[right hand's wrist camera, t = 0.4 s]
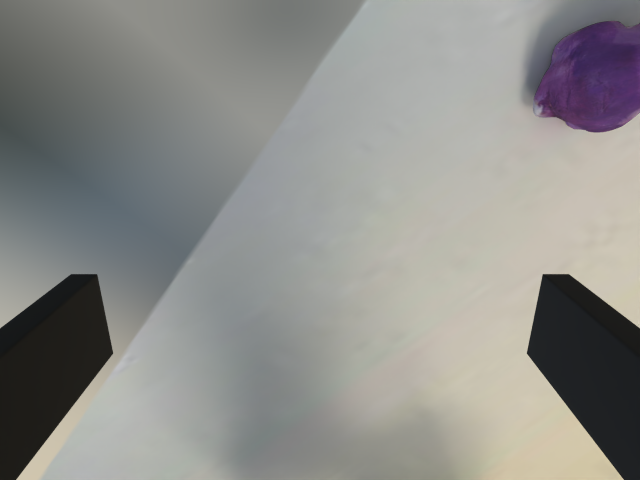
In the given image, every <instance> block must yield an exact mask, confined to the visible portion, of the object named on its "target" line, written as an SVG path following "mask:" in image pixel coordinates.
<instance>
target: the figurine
mask: <svg viewBox="0 0 640 480" xmlns="http://www.w3.org/2000/svg"><path fill="white" fill-rule="evenodd" d="M533 111H534V114H535V115H536V116H537V117H557V118H560V119H562V120H564V121H565V122H566V124H567V125H568V126H569V127H571V128H573V129H582V130H586V131H589V132H606V131H610V130H613V129H616V128H619V127H621V126H623V125H625V124H626V123H627V122H629V121H630V120H631V119H633V118H634V117H635V116H636V115H638V114H639V113H640V24H637V25H635V26H629V27H625V26H624V25H623V24H621V23H620V22H618V21H606V22H600V23H596V24H593V25H590V26H587V27H585V28H583V29H581V30H579V31H577V32H574V33H572V34H570V35H568V36H566V37H564V38H563V39H562V40H561V41H560V42H559V43H558V44H557V45H556V46H555V49H554V51H553V54H552V62H551V65H550V67H549V69H548V70H547V72H546V73H545V75H544V76H543V78H542V81H541V83H540V85H539V88H538V90H537V92H536V94H535V97H534V101H533Z"/></svg>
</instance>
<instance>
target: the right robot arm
mask: <svg viewBox="0 0 640 480" xmlns="http://www.w3.org/2000/svg"><path fill="white" fill-rule="evenodd" d="M112 354H113V350H112V345H111V340H110V336H109V331H108V326H107V321H106V316H105V311H104V306H103V301H102V296H101V291H100V286H99V281H98V276H97V274H71V275H70V276H68V277H67V278H66V279H64V280H63V281H62V282H60V283H59V284H58V285H57V286H55V287H54V288H53V289H51V290H50V291H49V292H47V293H46V294H45V295H43V296H42V297H41V298H39V299H38V300H37V301H36V302H34V303H33V304H32V305H30V306H29V307H28V308H26V309H25V310H24V311H22V312H21V313H20V314H19V315H17V316H16V317H15V318H13V319H12V320H11V321H9V322H8V323H7V324H5V325H4V326H3V327H1V328H0V480H16V479H17V478H18V476H19V475H20V474H21V473H22V471H23V470H24V469H25V467H26V466H27V465H28V463H29V462H30V461H31V460H32V458H33V457H34V456H35V454H36V453H37V452H38V450H39V449H40V448H41V446H42V445H43V444H44V443H45V441H46V440H47V439H48V437H49V436H50V435H51V434H52V432H53V431H54V430H55V428H56V427H57V426H58V424H59V423H60V422H61V421H62V419H63V418H64V417H65V415H66V414H67V413H68V411H69V410H70V409H71V407H72V406H73V405H74V404H75V402H76V401H77V400H78V398H79V397H80V396H81V394H82V393H83V392H84V391H85V389H86V388H87V387H88V385H89V384H90V383H91V381H92V380H93V379H94V378H95V376H96V375H97V374H98V372H99V371H100V370H101V368H102V367H103V366H104V365H105V363H106V362H107V361H108V359H109V358H110V357H111V355H112ZM527 354H528V355H529V357H530V358H531V359H532V361H533V362H534V363H535V365H536V366H537V367H538V368H539V370H540V371H541V372H542V374H543V375H544V376H545V378H546V379H547V380H548V381H549V383H550V384H551V385H552V387H553V388H554V389H555V391H556V392H557V393H558V394H559V396H560V397H561V398H562V400H563V401H564V402H565V404H566V405H567V406H568V408H569V409H570V410H571V411H572V413H573V414H574V415H575V417H576V418H577V419H578V421H579V422H580V423H581V424H582V426H583V427H584V428H585V430H586V431H587V432H588V434H589V435H590V436H591V437H592V439H593V440H594V441H595V443H596V444H597V445H598V447H599V448H600V449H601V450H602V452H603V453H604V454H605V456H606V457H607V458H608V460H609V461H610V462H611V463H612V465H613V466H614V467H615V469H616V470H617V471H618V473H619V474H620V475H621V476H622V478H623V479H624V480H640V328H639V327H637V326H636V325H635V324H633V323H632V322H631V321H629V320H628V319H627V318H625V317H624V316H623V315H621V314H620V313H619V312H618V311H616V310H615V309H614V308H612V307H611V306H610V305H608V304H607V303H606V302H604V301H603V300H602V299H601V298H599V297H598V296H597V295H595V294H594V293H593V292H591V291H590V290H589V289H587V288H586V287H585V286H584V285H582V284H581V283H580V282H578V281H577V280H576V279H574V278H573V277H572V276H570V275H569V274H543V276H542V281H541V286H540V291H539V296H538V301H537V306H536V311H535V316H534V321H533V326H532V331H531V336H530V340H529V345H528V350H527Z"/></svg>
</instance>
